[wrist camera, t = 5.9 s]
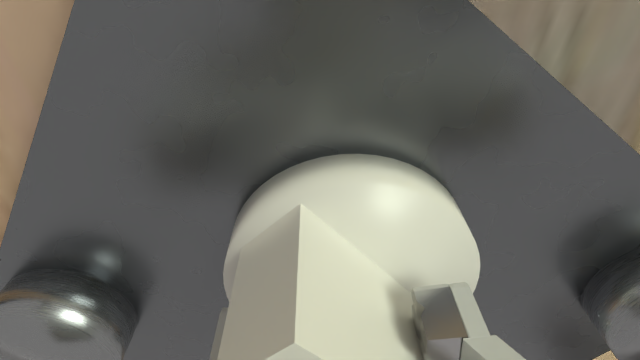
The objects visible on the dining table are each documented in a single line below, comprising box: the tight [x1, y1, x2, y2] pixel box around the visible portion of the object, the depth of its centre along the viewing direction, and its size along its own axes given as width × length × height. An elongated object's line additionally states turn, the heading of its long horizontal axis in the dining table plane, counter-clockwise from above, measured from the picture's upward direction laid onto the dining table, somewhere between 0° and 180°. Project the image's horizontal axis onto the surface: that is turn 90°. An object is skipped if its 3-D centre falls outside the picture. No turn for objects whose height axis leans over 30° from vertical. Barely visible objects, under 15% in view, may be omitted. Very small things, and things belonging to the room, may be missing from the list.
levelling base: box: [0, 0, 640, 360], centre depth 14 cm, size 24×20×6 cm
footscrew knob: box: [217, 154, 480, 360], centre depth 12 cm, size 11×8×6 cm
